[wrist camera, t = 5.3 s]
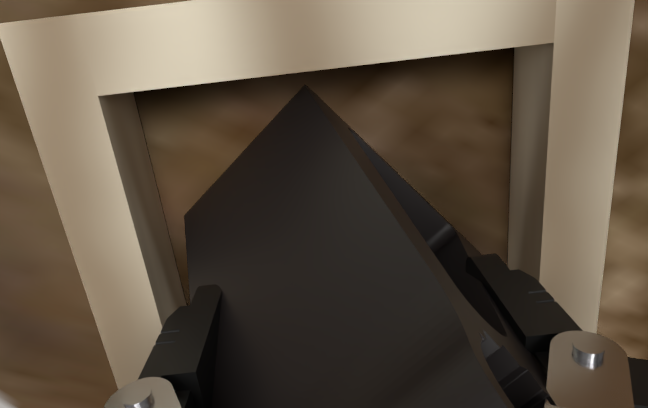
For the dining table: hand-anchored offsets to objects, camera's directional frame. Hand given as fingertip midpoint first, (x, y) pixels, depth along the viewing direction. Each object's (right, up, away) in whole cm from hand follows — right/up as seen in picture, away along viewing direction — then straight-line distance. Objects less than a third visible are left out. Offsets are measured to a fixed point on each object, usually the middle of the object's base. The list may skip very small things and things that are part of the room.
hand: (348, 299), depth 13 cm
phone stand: (0, +2, +4) cm, 4 cm away
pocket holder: (0, +1, +4) cm, 4 cm away
